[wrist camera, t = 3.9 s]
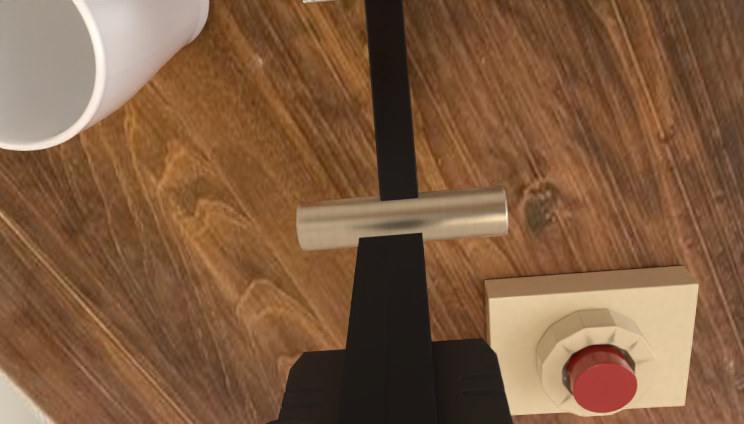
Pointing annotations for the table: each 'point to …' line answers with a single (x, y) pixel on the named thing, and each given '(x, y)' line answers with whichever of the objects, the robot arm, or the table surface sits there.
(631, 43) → the table surface
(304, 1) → the bracket
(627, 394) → the button
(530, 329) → the button block
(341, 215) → the lever
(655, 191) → the table surface
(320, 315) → the table surface
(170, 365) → the table surface
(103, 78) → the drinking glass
